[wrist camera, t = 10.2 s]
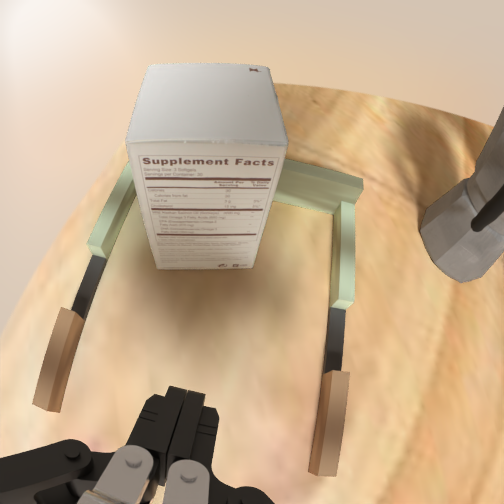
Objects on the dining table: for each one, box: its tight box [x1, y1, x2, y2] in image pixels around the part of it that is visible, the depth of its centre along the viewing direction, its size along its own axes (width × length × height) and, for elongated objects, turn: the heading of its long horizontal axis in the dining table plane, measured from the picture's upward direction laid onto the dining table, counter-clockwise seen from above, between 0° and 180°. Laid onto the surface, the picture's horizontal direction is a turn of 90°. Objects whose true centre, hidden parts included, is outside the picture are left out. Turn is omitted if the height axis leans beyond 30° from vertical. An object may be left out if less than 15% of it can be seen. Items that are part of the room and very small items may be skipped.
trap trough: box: [32, 159, 363, 477], centre depth 21 cm, size 22×19×4 cm
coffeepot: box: [420, 107, 504, 283], centre depth 20 cm, size 15×9×18 cm, turn 123°
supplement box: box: [125, 63, 288, 270], centre depth 20 cm, size 7×7×13 cm
